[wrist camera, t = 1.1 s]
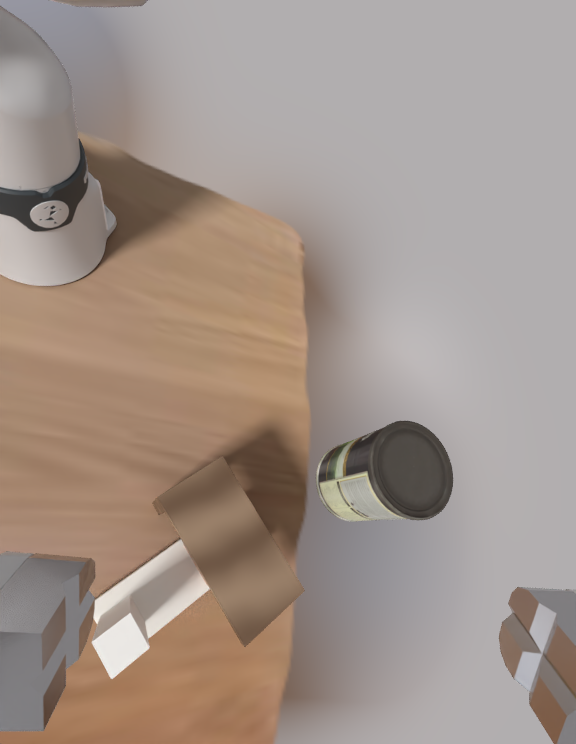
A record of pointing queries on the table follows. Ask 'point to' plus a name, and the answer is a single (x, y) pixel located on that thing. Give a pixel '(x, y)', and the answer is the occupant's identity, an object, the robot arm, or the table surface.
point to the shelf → (231, 548)
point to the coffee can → (386, 475)
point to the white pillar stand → (144, 606)
